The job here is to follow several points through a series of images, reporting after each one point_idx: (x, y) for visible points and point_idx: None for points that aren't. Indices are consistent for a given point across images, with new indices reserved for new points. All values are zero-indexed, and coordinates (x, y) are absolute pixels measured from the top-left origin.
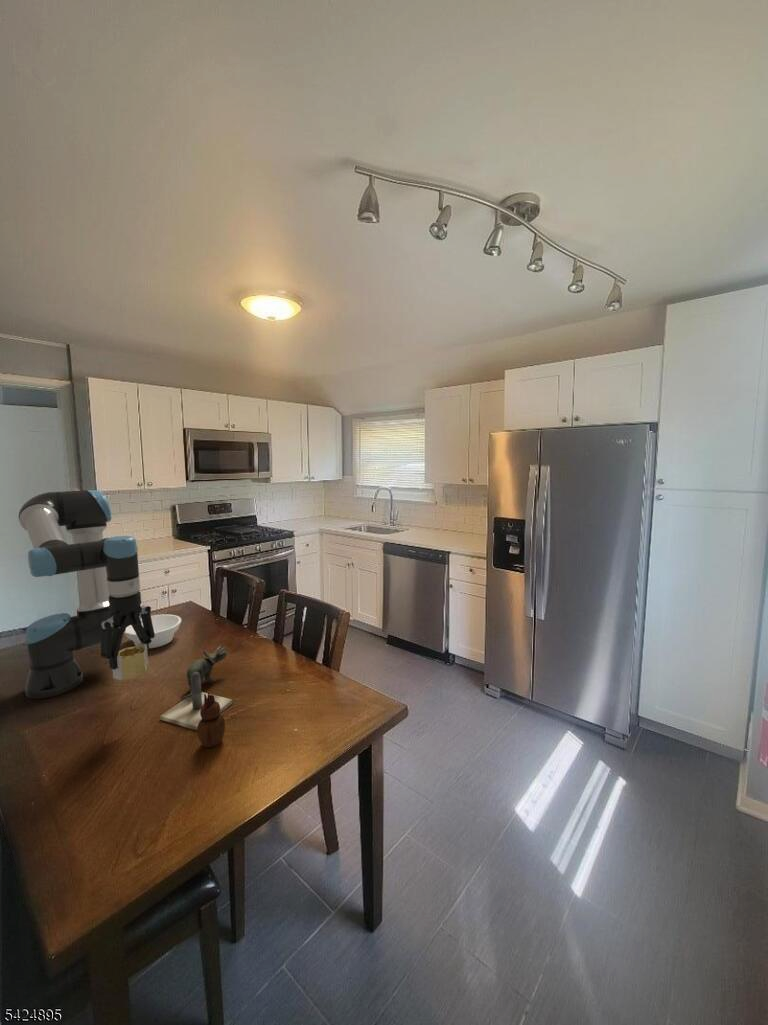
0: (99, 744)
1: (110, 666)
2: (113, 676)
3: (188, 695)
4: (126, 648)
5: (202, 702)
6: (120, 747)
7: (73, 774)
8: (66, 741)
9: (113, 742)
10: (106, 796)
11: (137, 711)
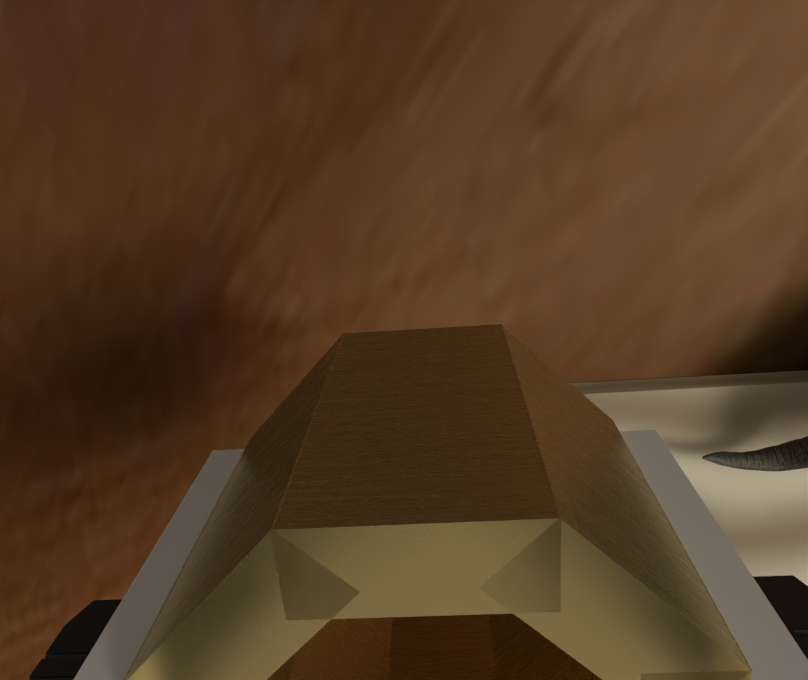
0: (207, 269)
1: (62, 655)
2: (205, 472)
3: (738, 468)
4: (545, 569)
5: (740, 513)
6: (255, 400)
7: (22, 378)
8: (103, 33)
9: (259, 326)
10: (61, 614)
11: (537, 158)
